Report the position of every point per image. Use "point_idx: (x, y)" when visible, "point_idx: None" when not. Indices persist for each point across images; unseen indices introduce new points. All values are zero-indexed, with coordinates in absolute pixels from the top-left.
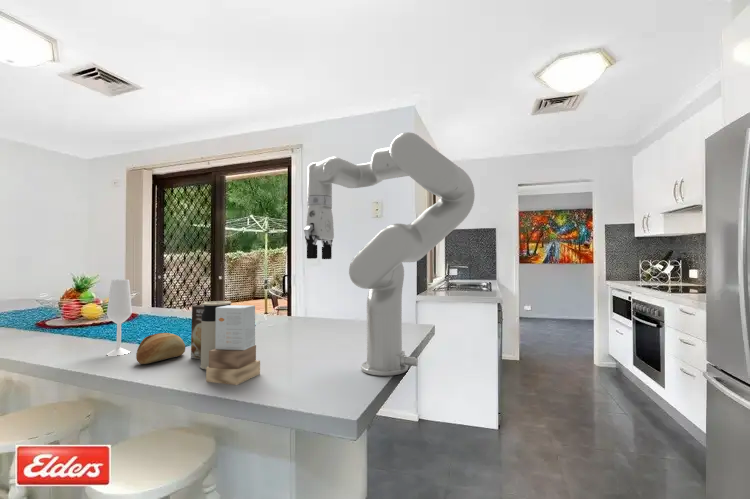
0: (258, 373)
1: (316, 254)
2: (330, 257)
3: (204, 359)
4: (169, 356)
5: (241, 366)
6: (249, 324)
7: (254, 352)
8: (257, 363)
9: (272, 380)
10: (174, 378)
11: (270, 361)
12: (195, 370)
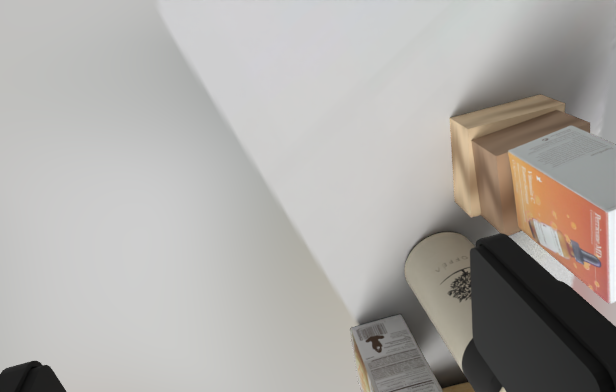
0: (458, 117)
1: (528, 257)
2: (26, 377)
3: None
4: (443, 388)
5: (542, 116)
6: (599, 162)
7: (492, 146)
8: (477, 124)
9: (485, 39)
10: (537, 253)
11: (340, 191)
12: None
